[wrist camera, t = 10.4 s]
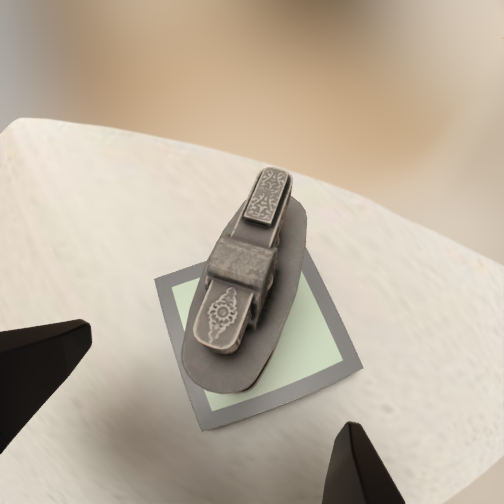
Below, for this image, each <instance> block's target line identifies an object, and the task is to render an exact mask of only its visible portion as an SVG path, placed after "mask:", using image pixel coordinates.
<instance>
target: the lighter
mask: <svg viewBox="0 0 504 504" xmlns="http://www.w3.org/2000/svg"><path fill="white" fill-rule="evenodd" d="M292 182H293V178H292V175H291V174H290V173H288V172H287V171H285V170H283V169H280V168H275V167H267V168H264V169H263V170H261V171H260V172H259V174H258V175H257V177H256V180H255V182H254V184H253V186H252V189H251V191H250V193H249V195H248V198H247V200H245V201H244V203H243V204H242V205H241V207H240V208H239V209H238V211H237V212H236V214H235V215H234V216H233V218H232V219H231V221H230V222H229V223H228V225H227V226H226V227H225V229H224V230H223V232H222V234H221V236H220V238H219V239H218V241H217V242H216V245H215V247H214V249H213V251H212V253H211V254H210V256H209V258H208V260H207V262H206V264H205V266H204V268H203V271H202V274H201V277H200V280H199V282H198V285H197V288H196V291H195V294H194V297H193V300H192V303H191V306H190V309H189V314H188V318H187V323H186V328H185V333H184V338H183V343H182V348H181V363H182V366H183V368H184V371H185V373H186V375H187V376H188V377H189V378H190V379H191V380H192V381H193V382H194V383H195V384H196V385H197V386H199V387H201V388H203V389H204V390H206V391H209V392H213V393H218V394H231V393H235V394H239V393H246V392H248V391H250V390H252V389H253V388H254V387H255V386H256V385H257V383H258V382H259V380H260V378H261V377H262V375H263V373H264V371H265V370H266V368H267V366H268V365H269V363H270V361H271V359H272V356H273V354H274V351H275V349H276V347H277V344H278V342H279V339H280V337H281V334H282V331H283V328H284V326H285V323H286V321H287V318H288V316H289V313H290V310H291V308H292V305H293V303H294V300H295V297H296V294H297V290H298V285H299V280H300V276H301V271H302V266H303V261H304V256H305V246H306V229H307V216H306V211H305V209H304V208H303V206H302V205H301V203H300V202H298V201H297V200H296V199H294V198H293V197H292V196H291V189H292Z"/></svg>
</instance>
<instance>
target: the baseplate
mask: <svg viewBox="0 0 504 504" xmlns="http://www.w3.org/2000/svg"><path fill="white" fill-rule="evenodd" d="M206 262H207V261H205V262H202V263H199V264H196V265H193V266H190V267H187V268H185V269H182V270H179V271H176V272H173V273H170V274H167V275H164V276H161V277H158V278H156V279H154V280H155V284H156V288H157V292H158V296H159V300H160V304H161V308H162V312H163V315H164V319H165V323H166V326H167V330H168V333H169V337H170V340H171V343H172V347H173V350H174V353H175V356H176V360H177V363H178V366H179V369H180V372H181V375H182V378H183V381H184V384H185V387H186V390H187V393H188V396H189V399H190V401H191V404H192V407H193V410H194V412H195V415H196V418H197V420H198V423H199V426H200V428H201V431H202V432H203V431H206V430H210V429H213V428H217V427H220V426H223V425H227V424H230V423H233V422H236V421H239V420H242V419H245V418H248V417H251V416H254V415H257V414H260V413H263V412H265V411H268V410H271V409H273V408H276V407H279V406H281V405H284V404H286V403H289V402H291V401H294V400H296V399H299V398H301V397H303V396H306V395H308V394H310V393H313V392H315V391H317V390H319V389H322V388H324V387H326V386H328V385H330V384H332V383H335V382H337V381H339V380H341V379H343V378H345V377H347V376H349V375H351V374H353V373H355V372H357V371H359V370H361V369H363V366H362V363H361V361H360V359H359V357H358V354H357V352H356V350H355V348H354V346H353V343H352V341H351V339H350V337H349V335H348V333H347V330H346V328H345V326H344V324H343V322H342V320H341V318H340V315H339V313H338V311H337V309H336V307H335V305H334V303H333V301H332V299H331V297H330V295H329V292H328V290H327V288H326V286H325V284H324V282H323V280H322V278H321V276H320V274H319V272H318V270H317V268H316V266H315V264H314V262H313V260H312V258H311V256H310V254H309V252H308V250H307V248H306V247H305V256H304V261H303V266H302V271H301V276H300V280H299V285H298V290H297V294H296V297H295V300H294V303H293V305H292V308H291V310H290V313H289V316H288V318H287V321H286V323H285V326H284V328H283V331H282V334H281V337H280V339H279V342H278V344H277V347H276V349H275V351H274V354H273V356H272V359H271V361H270V363H269V365H268V366H267V368H266V370H265V371H264V373H263V375H262V377H261V378H260V380H259V382H258V383H257V385H256V386H255V387H254V388H253V389H252V390H250V391H248V392H246V393H239V394H235V393H231V394H218V393H213V392H209V391H206V390H204V389H203V388H201V387H199V386H197V385H196V384H195V383H194V382H193V381H192V380H191V379H190V378H189V377H188V376H187V375H186V373H185V371H184V368H183V366H182V363H181V348H182V343H183V338H184V333H185V328H186V323H187V318H188V314H189V309H190V306H191V303H192V300H193V297H194V294H195V291H196V288H197V285H198V282H199V280H200V277H201V274H202V271H203V268H204V266H205V264H206Z"/></svg>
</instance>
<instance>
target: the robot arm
mask: <svg viewBox="0 0 504 504" xmlns="http://www.w3.org/2000/svg"><path fill="white" fill-rule="evenodd" d="M91 345H92V334H91V326H90V324H89V323H88V322H86V321H84V320H82V319H77V320H71V321H66V322H60V323H54V324H48V325H41V326H35V327H29V328H22V329H16V330H9V331H2V332H0V454H1V453H2V452H3V451H4V450H5V448H6V447H7V446H8V445H9V443H10V442H11V441H12V440H13V439H14V437H15V436H16V435H17V434H18V433H19V432H20V430H21V429H22V428H23V427H24V426H25V425H26V423H27V422H28V421H29V420H30V419H31V418H32V417H33V415H34V414H35V413H36V412H37V411H38V410H39V409H40V408H41V406H42V405H43V404H44V403H45V402H46V401H47V400H48V399H49V397H50V396H51V395H52V394H53V393H54V392H55V391H56V390H57V389H58V388H59V386H60V385H61V384H62V383H63V382H64V381H65V380H66V379H67V378H68V376H69V375H70V374H71V373H72V371H73V370H74V369H75V367H76V366H77V365H78V363H79V362H80V361H81V359H82V358H83V357H84V355H85V354H86V353H87V351H88V350H89V349H90V347H91ZM322 504H405V501H404V499H403V497H402V496H401V494H400V492H399V490H398V489H397V487H396V485H395V483H394V481H393V480H392V478H391V476H390V474H389V473H388V471H387V469H386V467H385V466H384V464H383V462H382V460H381V459H380V457H379V455H378V453H377V452H376V450H375V448H374V446H373V445H372V443H371V441H370V439H369V438H368V436H367V434H366V433H365V431H364V429H363V427H362V426H361V424H359V423H356V422H351V421H349V422H347V423H346V424H345V425H344V427H343V428H342V429H341V431H340V432H339V434H338V435H337V437H336V439H335V442H334V446H333V450H332V455H331V459H330V463H329V468H328V472H327V476H326V480H325V486H324V493H323V501H322Z"/></svg>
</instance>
